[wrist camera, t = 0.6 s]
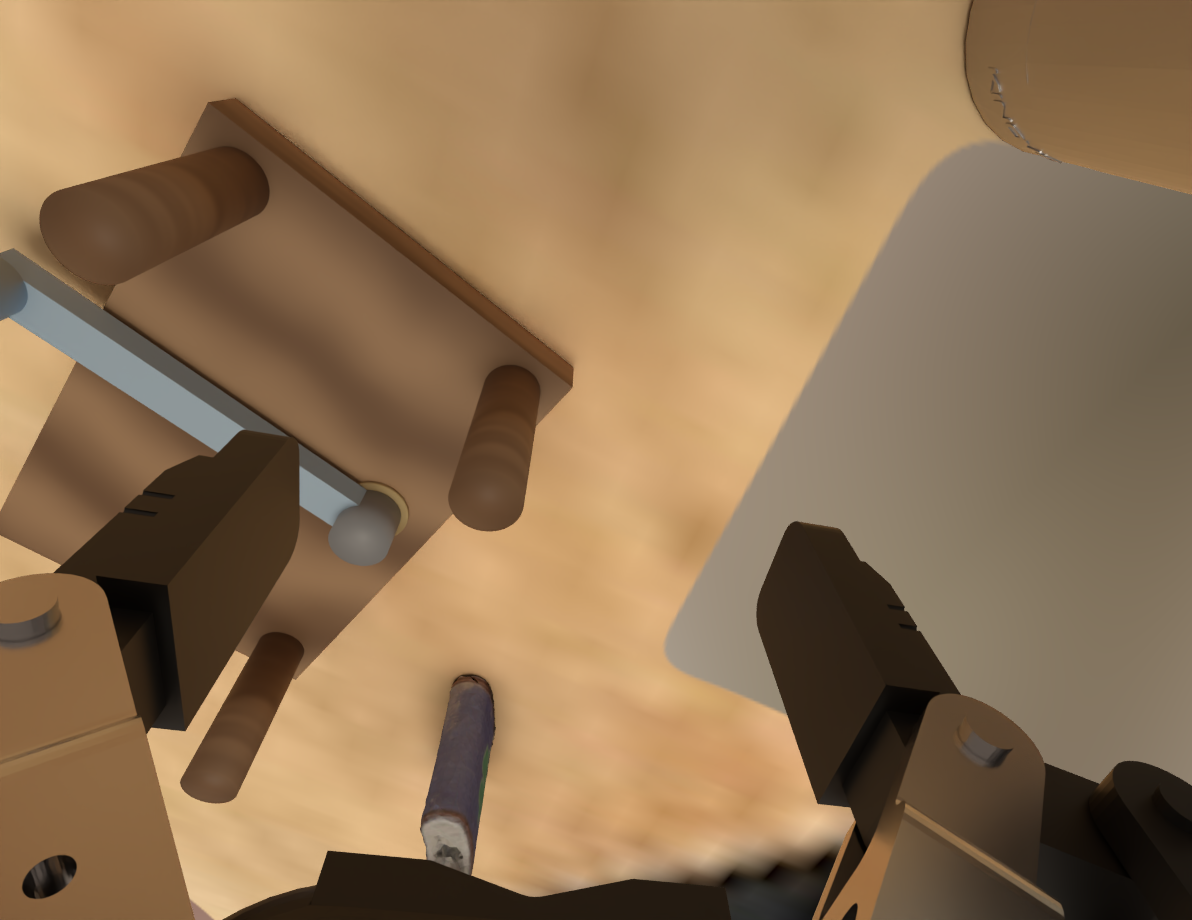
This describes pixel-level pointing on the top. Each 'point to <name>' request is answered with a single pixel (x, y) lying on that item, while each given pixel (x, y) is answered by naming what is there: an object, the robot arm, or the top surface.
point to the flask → (459, 776)
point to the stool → (283, 381)
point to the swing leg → (187, 400)
